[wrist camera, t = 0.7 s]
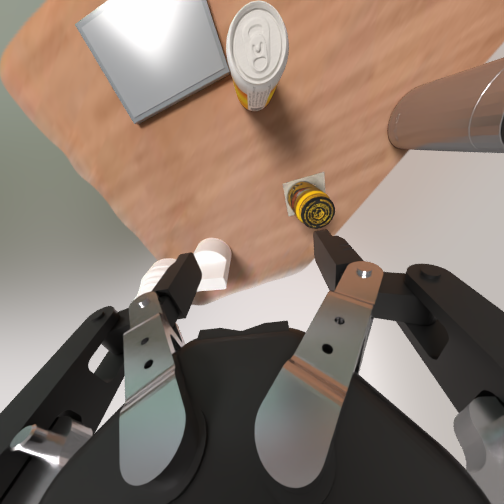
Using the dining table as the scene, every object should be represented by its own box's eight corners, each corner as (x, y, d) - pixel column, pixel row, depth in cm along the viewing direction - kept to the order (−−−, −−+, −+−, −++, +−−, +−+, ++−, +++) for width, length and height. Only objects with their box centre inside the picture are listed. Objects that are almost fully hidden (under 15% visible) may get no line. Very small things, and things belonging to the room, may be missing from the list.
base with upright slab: (201, 269, 48) (187, 302, 38) (192, 239, 44) (174, 269, 33) (234, 266, 48) (229, 299, 38) (228, 236, 43) (221, 264, 33)
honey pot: (180, 251, 45) (144, 306, 30) (206, 286, 52) (187, 347, 36) (140, 267, 48) (88, 326, 33) (169, 299, 54) (137, 360, 39)
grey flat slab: (190, -48, 22) (187, -58, 21) (230, 74, 28) (229, 71, 27) (81, 29, 26) (74, 24, 25) (137, 124, 32) (133, 123, 30)
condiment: (282, 183, 37) (294, 199, 27) (323, 171, 36) (353, 182, 26) (288, 216, 41) (301, 240, 30) (326, 206, 40) (352, 227, 29)
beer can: (269, 57, 27) (286, -19, 15) (275, 106, 30) (294, 79, 18) (231, 68, 28) (215, 6, 15) (241, 116, 31) (234, 97, 18)
